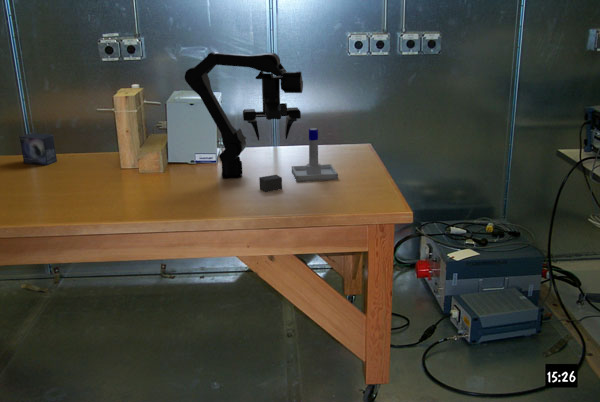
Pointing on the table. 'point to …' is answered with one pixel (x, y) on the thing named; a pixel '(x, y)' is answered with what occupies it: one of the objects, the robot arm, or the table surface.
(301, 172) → the tray
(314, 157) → the bolt
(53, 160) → the small box
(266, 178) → the block
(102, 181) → the table surface
